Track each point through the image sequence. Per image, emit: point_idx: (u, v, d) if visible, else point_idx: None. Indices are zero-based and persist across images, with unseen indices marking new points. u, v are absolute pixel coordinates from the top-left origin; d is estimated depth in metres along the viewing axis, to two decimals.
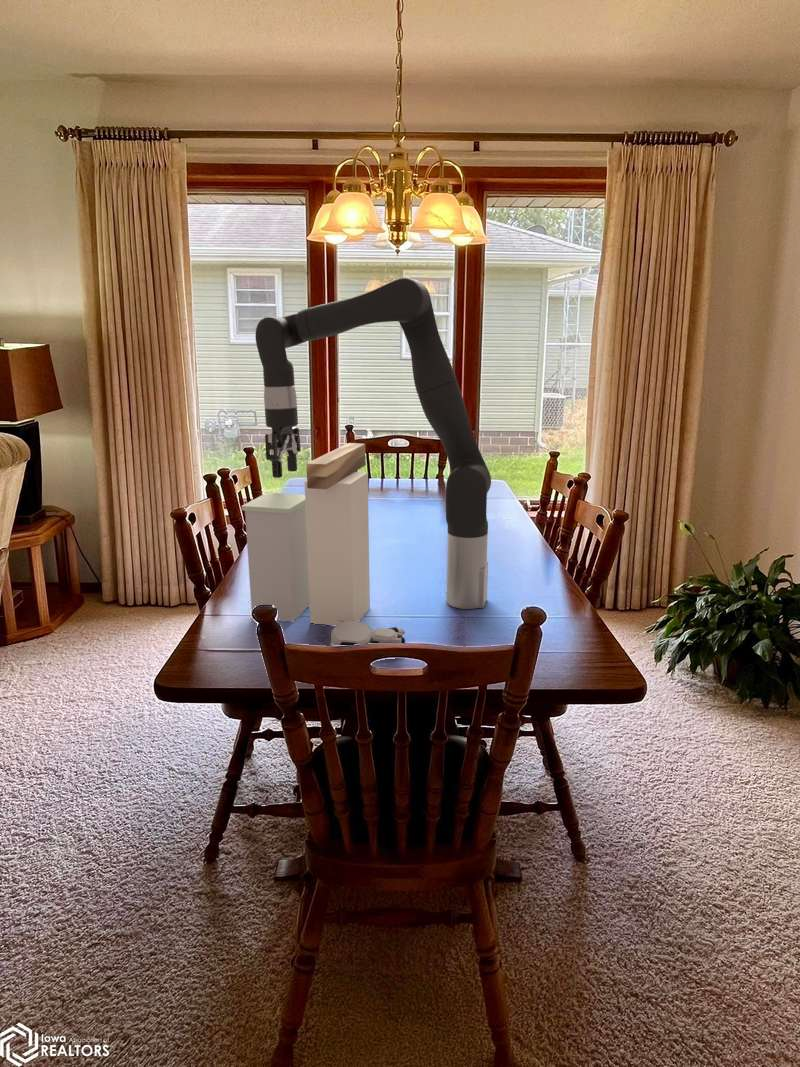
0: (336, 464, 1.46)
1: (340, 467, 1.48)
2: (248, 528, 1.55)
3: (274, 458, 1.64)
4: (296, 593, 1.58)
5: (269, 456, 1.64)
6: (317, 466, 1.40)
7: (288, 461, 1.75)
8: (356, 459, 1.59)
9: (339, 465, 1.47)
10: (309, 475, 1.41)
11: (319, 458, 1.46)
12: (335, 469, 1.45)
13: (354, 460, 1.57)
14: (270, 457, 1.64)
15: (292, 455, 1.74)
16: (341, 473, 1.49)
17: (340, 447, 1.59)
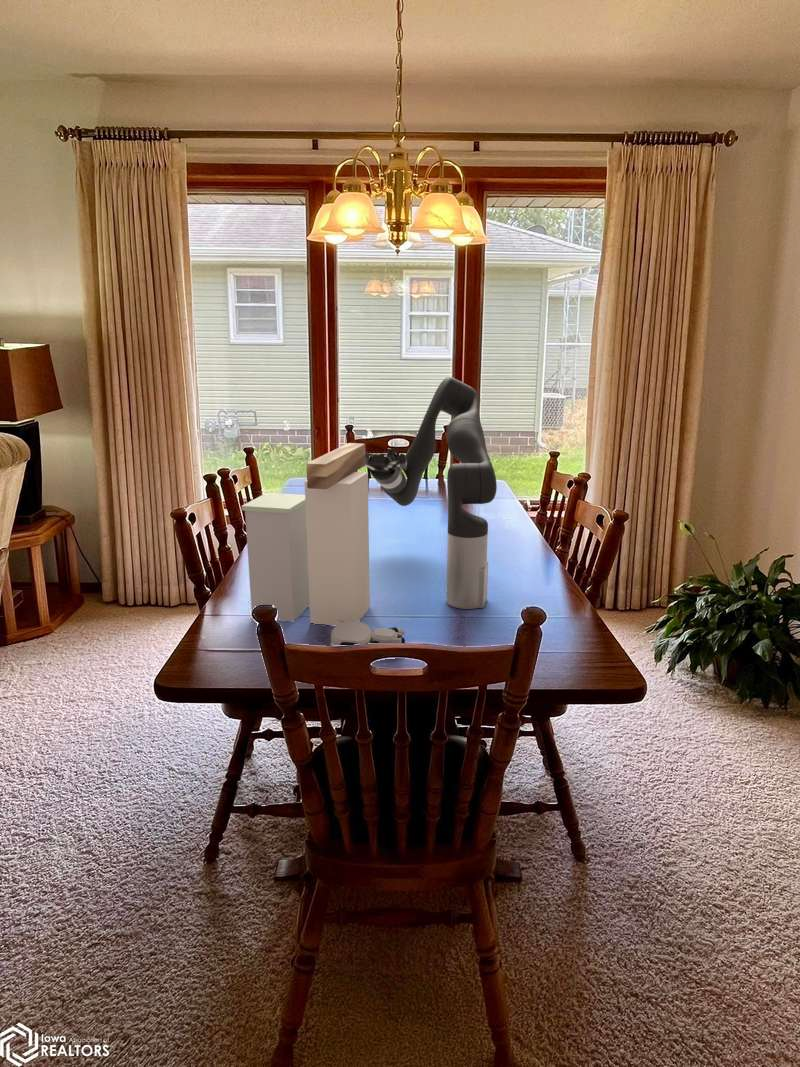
0: (336, 464, 1.46)
1: (340, 467, 1.48)
2: (248, 528, 1.55)
3: None
4: (296, 593, 1.58)
5: None
6: (317, 466, 1.40)
7: None
8: (356, 459, 1.59)
9: (339, 465, 1.47)
10: (309, 475, 1.41)
11: (319, 458, 1.46)
12: (335, 469, 1.45)
13: (354, 460, 1.57)
14: None
15: None
16: (341, 473, 1.49)
17: (340, 447, 1.59)
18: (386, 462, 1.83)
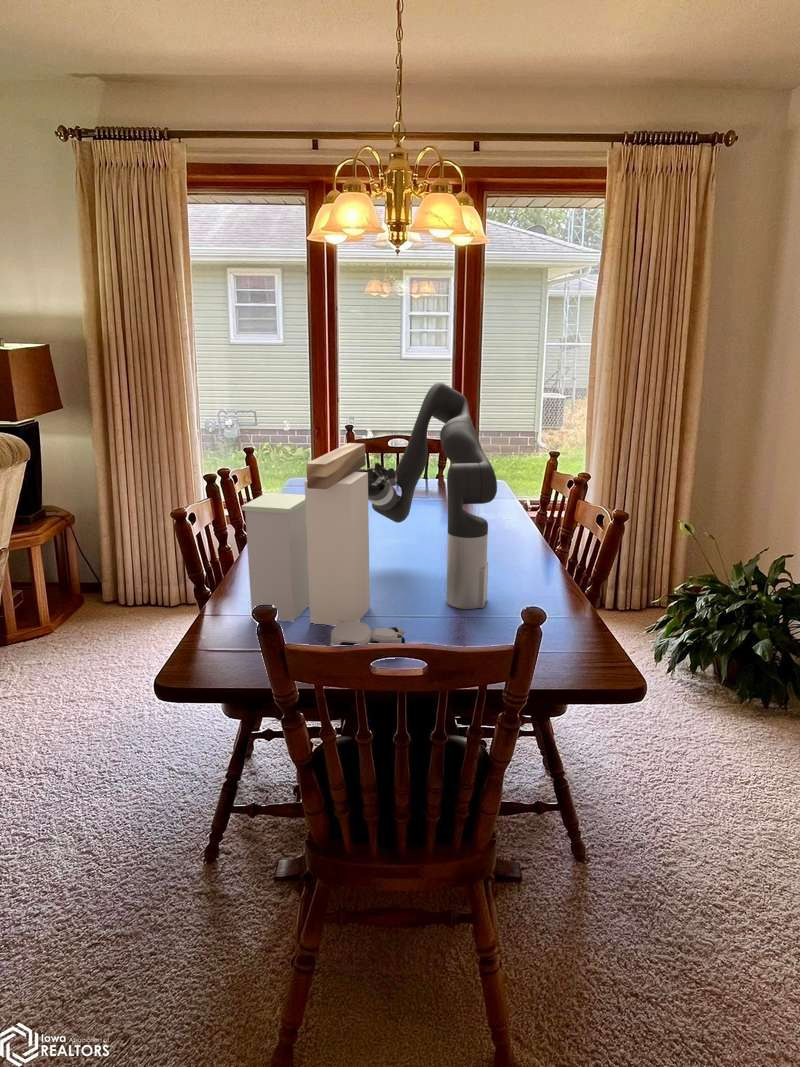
0: (336, 464, 1.46)
1: (340, 467, 1.48)
2: (248, 528, 1.55)
3: None
4: (296, 593, 1.58)
5: None
6: (317, 466, 1.40)
7: None
8: (356, 459, 1.59)
9: (339, 465, 1.47)
10: (309, 475, 1.41)
11: (319, 458, 1.46)
12: (335, 469, 1.45)
13: (354, 460, 1.57)
14: None
15: None
16: (341, 473, 1.49)
17: (340, 447, 1.59)
18: (374, 477, 1.72)
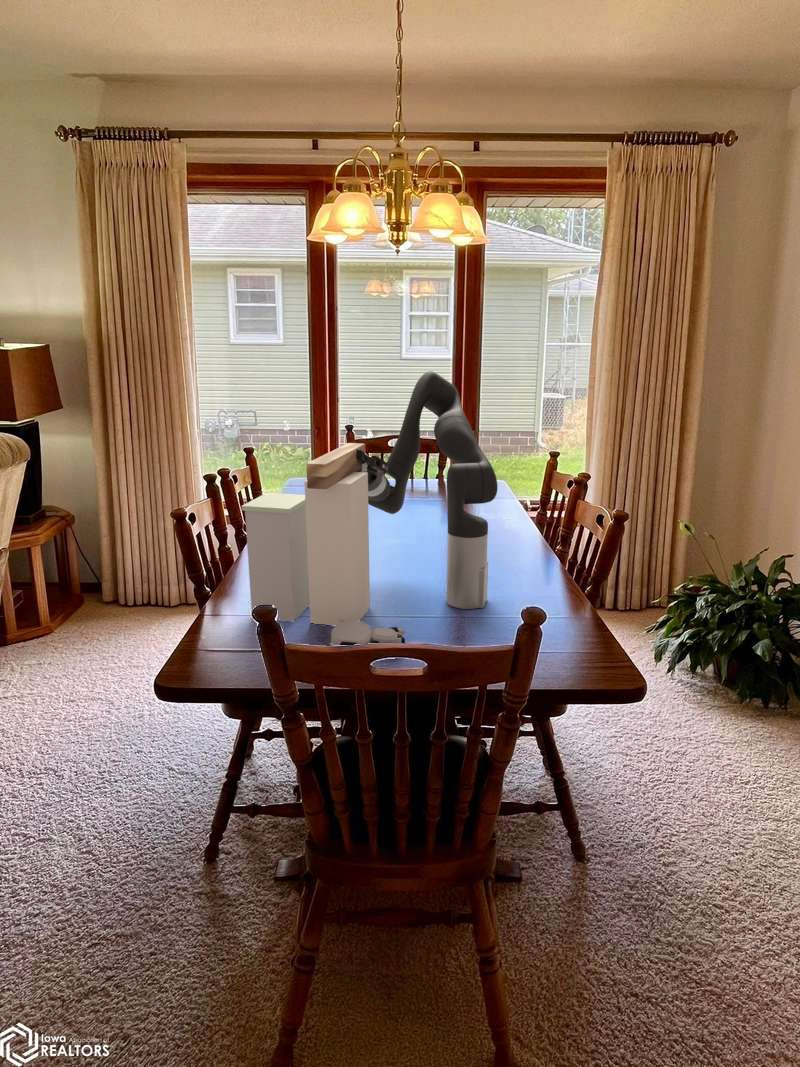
0: (336, 464, 1.46)
1: (340, 467, 1.48)
2: (248, 528, 1.55)
3: None
4: (296, 593, 1.58)
5: None
6: (317, 466, 1.40)
7: None
8: (356, 459, 1.59)
9: (339, 465, 1.47)
10: (309, 475, 1.41)
11: (319, 458, 1.46)
12: (335, 469, 1.45)
13: (354, 460, 1.57)
14: None
15: None
16: (341, 473, 1.49)
17: (340, 447, 1.59)
18: None
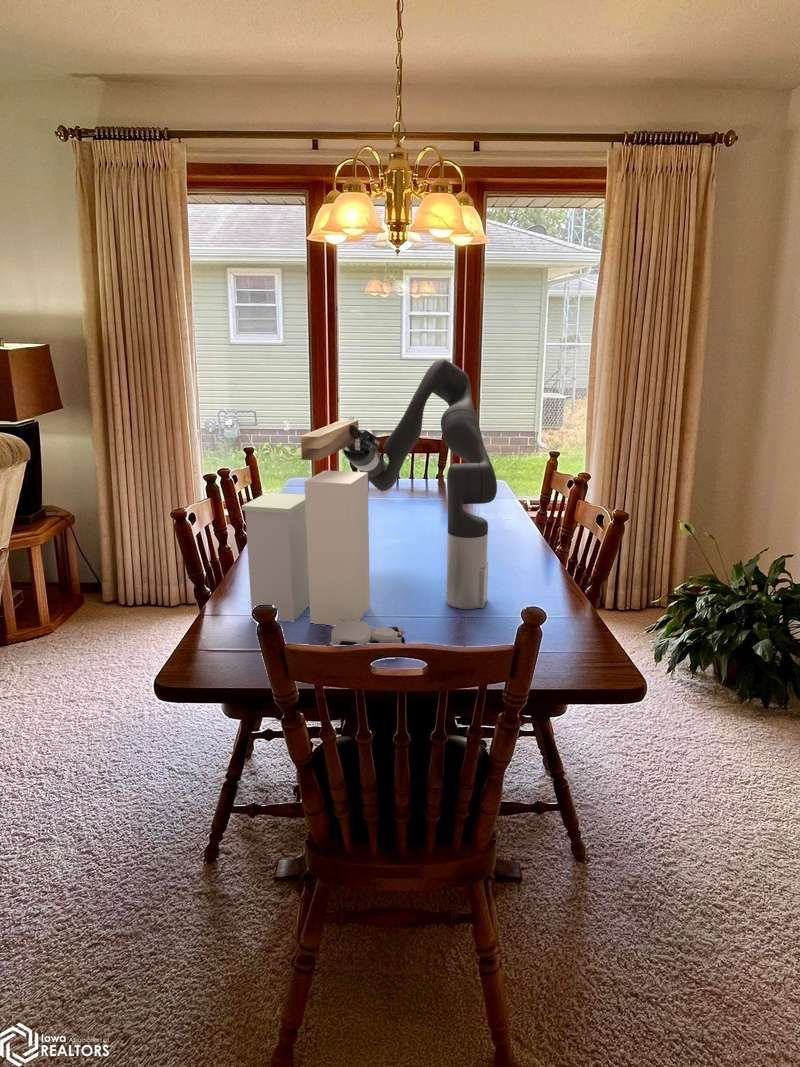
0: (329, 437, 1.56)
1: (333, 440, 1.58)
2: (248, 528, 1.55)
3: None
4: (296, 593, 1.58)
5: None
6: (311, 438, 1.50)
7: None
8: (349, 434, 1.68)
9: (332, 438, 1.57)
10: (303, 447, 1.51)
11: (313, 432, 1.55)
12: (328, 442, 1.55)
13: (347, 435, 1.67)
14: None
15: None
16: (334, 446, 1.59)
17: (334, 423, 1.68)
18: None
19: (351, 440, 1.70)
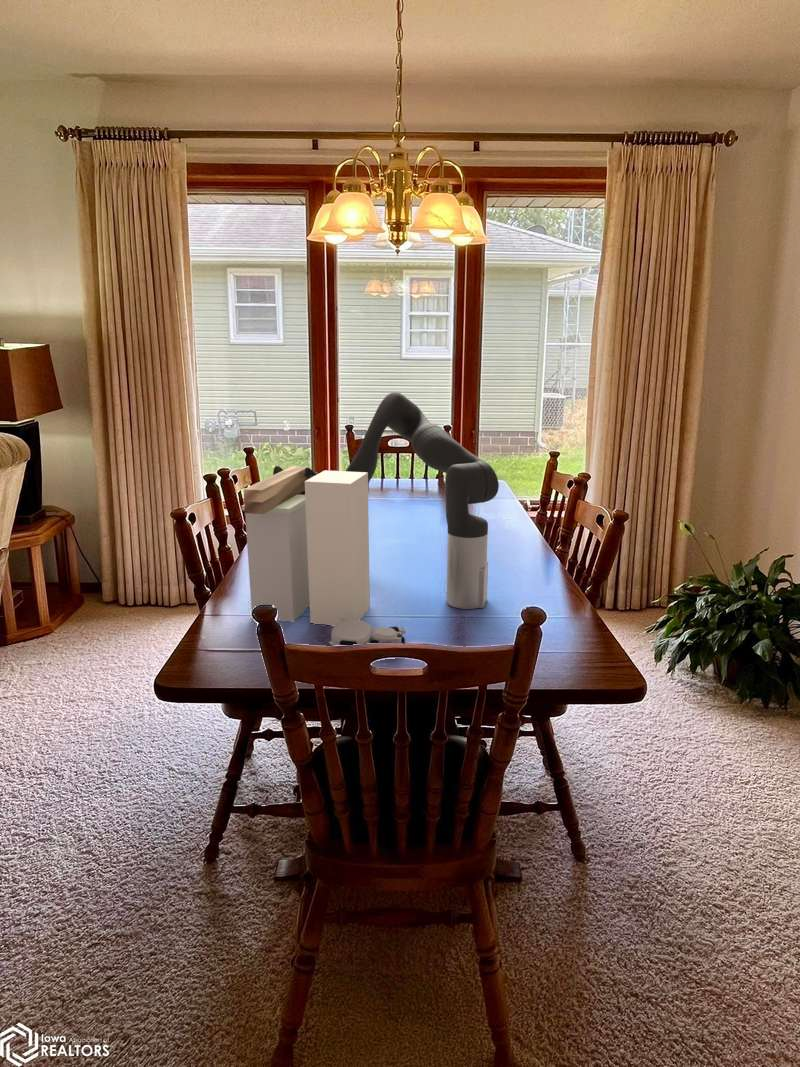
0: (274, 489, 1.51)
1: (279, 491, 1.53)
2: (248, 528, 1.55)
3: None
4: (296, 593, 1.58)
5: None
6: (254, 492, 1.45)
7: None
8: (299, 482, 1.64)
9: (277, 489, 1.52)
10: (246, 500, 1.46)
11: (258, 483, 1.51)
12: (273, 494, 1.50)
13: (296, 483, 1.62)
14: None
15: None
16: (280, 497, 1.54)
17: (283, 471, 1.64)
18: None
19: (301, 488, 1.65)
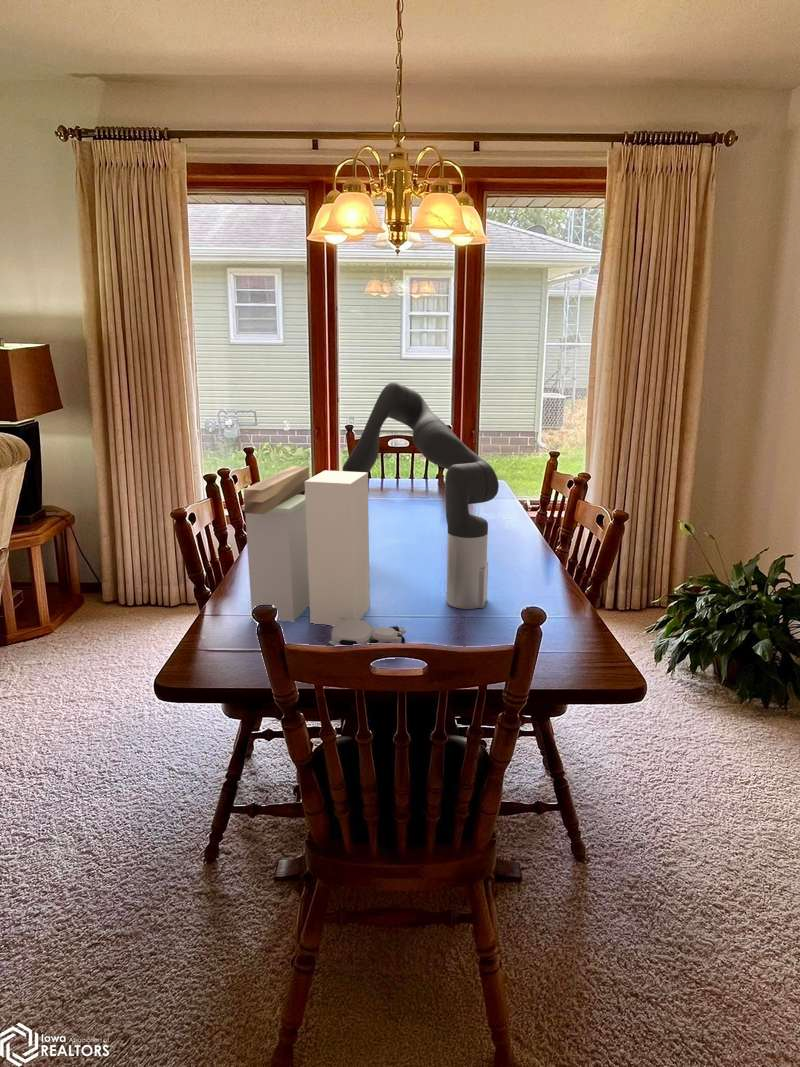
0: (274, 489, 1.51)
1: (279, 491, 1.53)
2: (248, 528, 1.55)
3: None
4: (296, 593, 1.58)
5: None
6: (254, 492, 1.45)
7: None
8: (299, 482, 1.64)
9: (277, 489, 1.52)
10: (246, 500, 1.46)
11: (258, 483, 1.51)
12: (273, 494, 1.50)
13: (296, 483, 1.62)
14: None
15: None
16: (280, 497, 1.54)
17: (283, 471, 1.64)
18: None
19: (301, 488, 1.65)
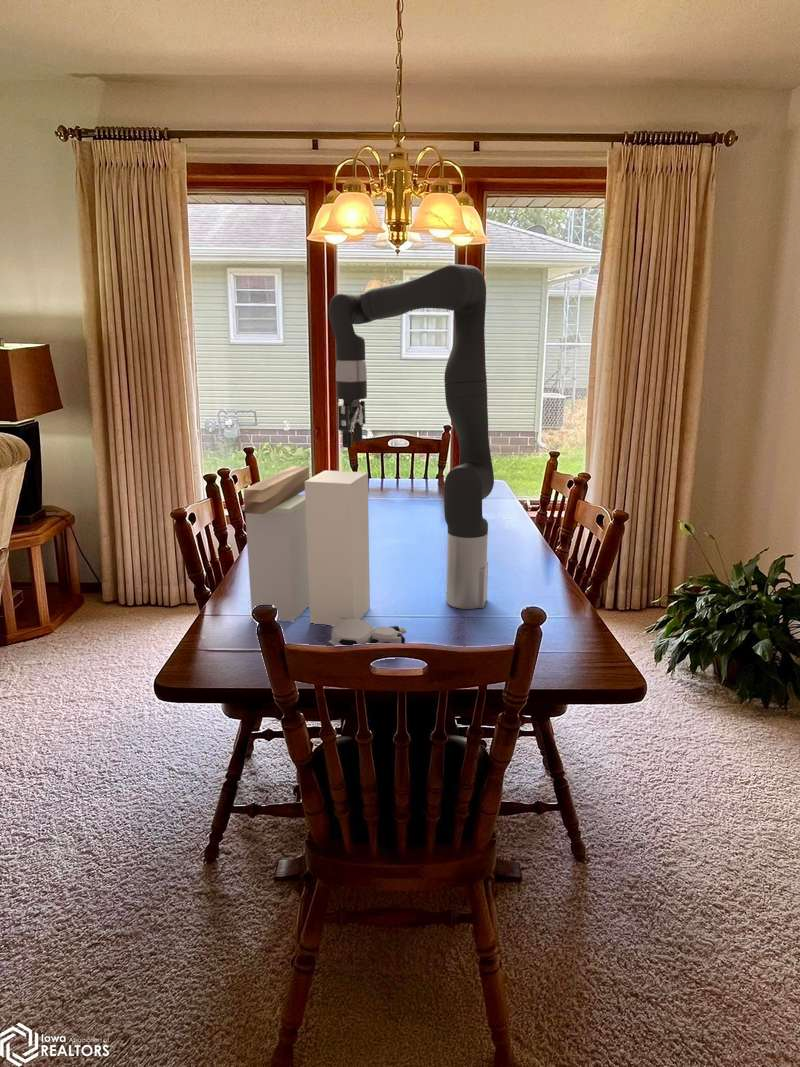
0: (274, 489, 1.51)
1: (279, 491, 1.53)
2: (248, 528, 1.55)
3: (346, 429, 1.72)
4: (296, 593, 1.58)
5: (341, 427, 1.72)
6: (254, 492, 1.45)
7: (354, 432, 1.83)
8: (299, 482, 1.64)
9: (277, 489, 1.52)
10: (246, 500, 1.46)
11: (258, 483, 1.51)
12: (273, 494, 1.50)
13: (296, 483, 1.62)
14: (342, 427, 1.72)
15: (358, 427, 1.83)
16: (280, 497, 1.54)
17: (283, 471, 1.64)
18: None
19: (301, 488, 1.65)
